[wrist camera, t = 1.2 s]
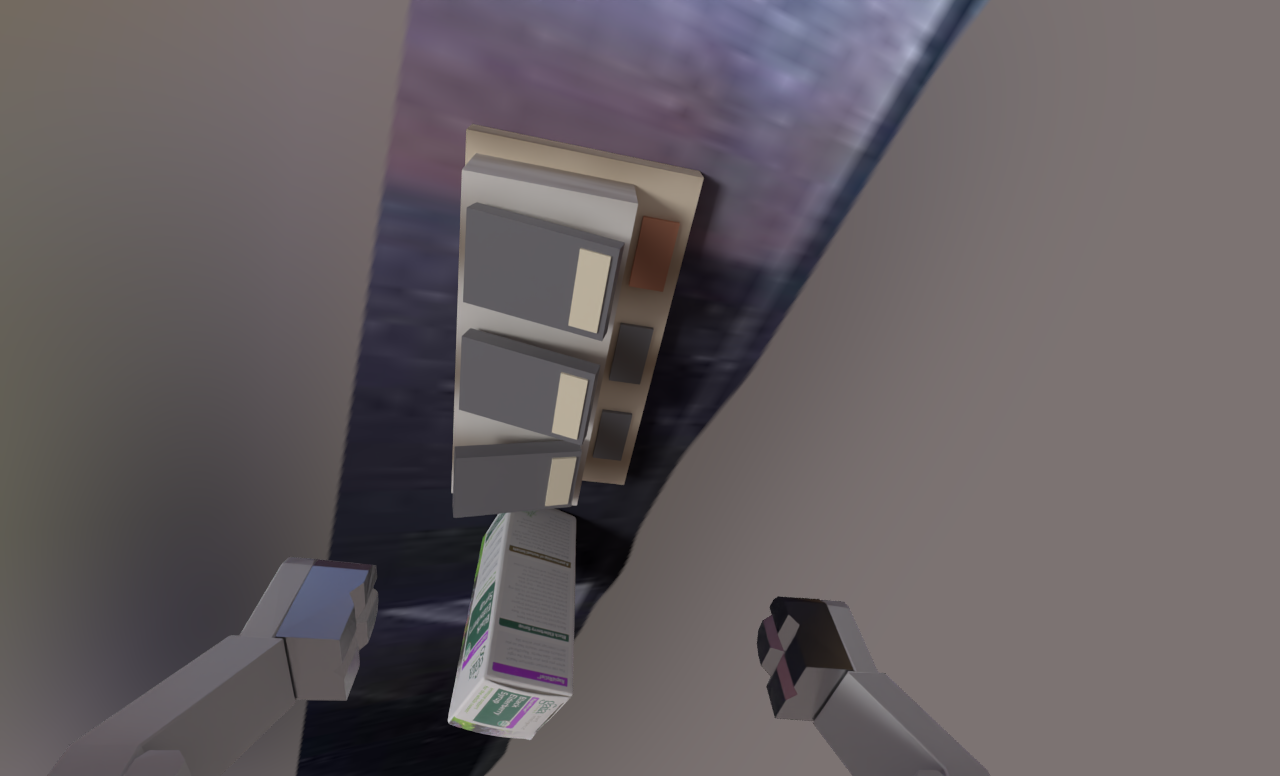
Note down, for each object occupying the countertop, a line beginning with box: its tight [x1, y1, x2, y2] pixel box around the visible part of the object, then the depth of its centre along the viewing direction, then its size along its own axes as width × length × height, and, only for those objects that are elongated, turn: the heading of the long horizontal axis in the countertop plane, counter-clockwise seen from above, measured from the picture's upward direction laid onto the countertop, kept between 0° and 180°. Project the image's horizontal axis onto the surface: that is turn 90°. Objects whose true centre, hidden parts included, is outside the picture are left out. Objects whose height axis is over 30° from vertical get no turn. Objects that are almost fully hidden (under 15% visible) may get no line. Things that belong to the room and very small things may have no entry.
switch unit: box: [451, 124, 704, 505], centre depth 33 cm, size 22×12×6 cm, turn 168°
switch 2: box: [453, 441, 582, 518], centre depth 33 cm, size 5×7×1 cm, turn 78°
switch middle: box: [459, 328, 601, 446], centre depth 29 cm, size 5×7×1 cm, turn 78°
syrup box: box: [448, 508, 576, 740], centre depth 39 cm, size 6×6×14 cm
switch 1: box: [463, 202, 625, 341], centre depth 26 cm, size 5×7×1 cm, turn 78°
